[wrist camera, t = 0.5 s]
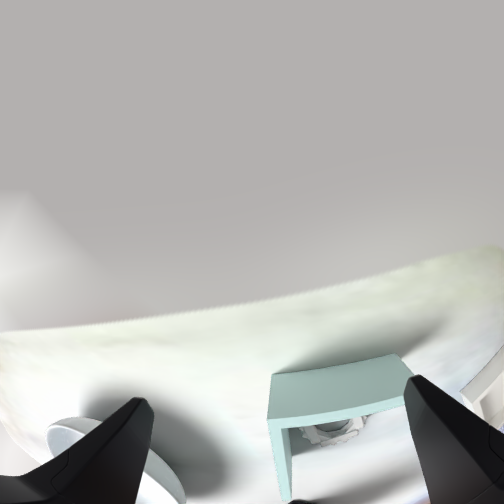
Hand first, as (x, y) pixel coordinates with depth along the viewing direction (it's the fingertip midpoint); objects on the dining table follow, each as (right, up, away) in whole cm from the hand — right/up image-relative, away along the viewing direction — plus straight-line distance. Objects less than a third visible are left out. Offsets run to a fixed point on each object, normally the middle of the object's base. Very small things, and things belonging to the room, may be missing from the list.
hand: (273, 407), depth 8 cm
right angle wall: (+8, -11, +16) cm, 21 cm away
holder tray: (+32, -12, +13) cm, 37 cm away
